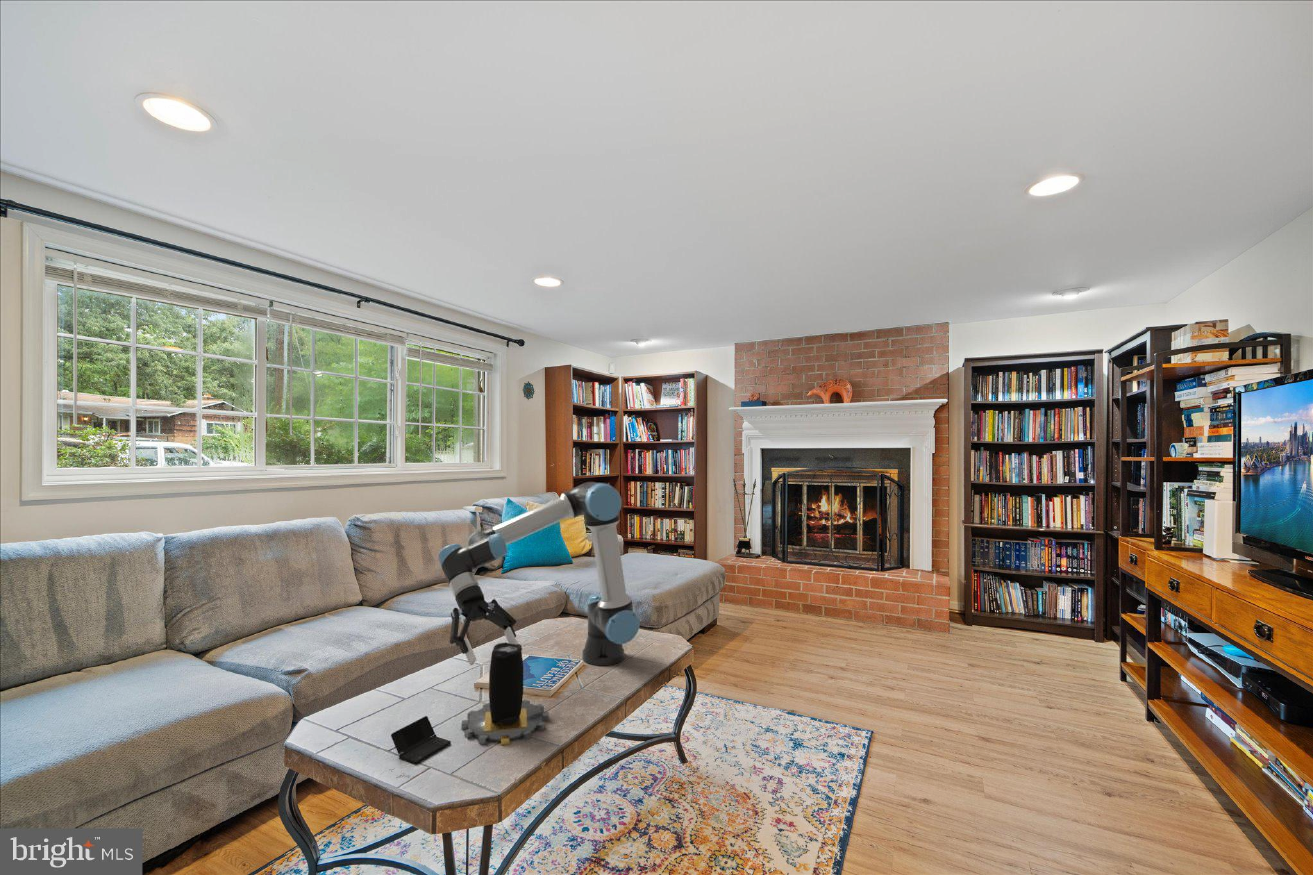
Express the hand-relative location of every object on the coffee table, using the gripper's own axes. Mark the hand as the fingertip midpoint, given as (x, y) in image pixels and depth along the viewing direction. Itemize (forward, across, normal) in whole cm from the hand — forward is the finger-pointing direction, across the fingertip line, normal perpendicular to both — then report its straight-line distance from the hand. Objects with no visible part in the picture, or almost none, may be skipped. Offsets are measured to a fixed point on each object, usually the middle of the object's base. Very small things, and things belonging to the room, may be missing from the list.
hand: (495, 655), depth 157 cm
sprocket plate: (+15, -1, -10) cm, 18 cm away
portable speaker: (+15, -1, -8) cm, 17 cm away
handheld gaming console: (+12, +20, -14) cm, 28 cm away
